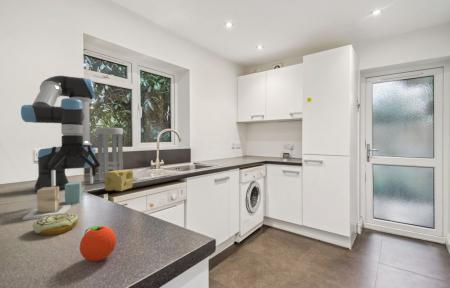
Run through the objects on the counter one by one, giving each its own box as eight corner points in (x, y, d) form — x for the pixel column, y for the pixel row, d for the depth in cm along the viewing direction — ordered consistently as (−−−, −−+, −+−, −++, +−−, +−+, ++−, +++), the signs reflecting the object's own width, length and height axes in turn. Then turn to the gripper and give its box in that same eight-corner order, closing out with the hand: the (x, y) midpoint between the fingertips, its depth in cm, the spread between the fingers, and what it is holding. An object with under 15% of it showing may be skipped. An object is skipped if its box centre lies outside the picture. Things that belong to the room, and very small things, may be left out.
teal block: (68, 201, 94) (67, 183, 94) (81, 199, 96) (81, 182, 96) (65, 204, 90) (64, 185, 90) (79, 202, 92) (79, 184, 92)
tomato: (68, 263, 46) (67, 229, 46) (98, 248, 52) (97, 218, 52) (95, 271, 43) (95, 235, 43) (123, 254, 49) (123, 222, 49)
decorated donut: (29, 241, 57) (29, 227, 56) (36, 228, 65) (35, 215, 65) (78, 231, 62) (77, 218, 62) (77, 220, 71) (77, 209, 71)
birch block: (42, 209, 80) (42, 187, 80) (59, 207, 82) (59, 186, 82) (37, 213, 76) (37, 190, 76) (55, 211, 78) (54, 189, 78)
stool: (127, 180, 146) (126, 128, 145) (102, 183, 134) (101, 127, 134) (117, 177, 156) (116, 129, 155) (93, 180, 144) (92, 128, 144)
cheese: (121, 191, 112) (121, 172, 112) (103, 190, 114) (103, 172, 114) (133, 187, 122) (133, 169, 122) (117, 186, 125) (116, 169, 124)
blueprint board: (35, 210, 82) (35, 208, 81) (70, 206, 86) (70, 204, 86) (22, 220, 71) (22, 217, 71) (63, 215, 76) (63, 212, 76)
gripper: (31, 134, 84) (32, 189, 84) (104, 134, 94) (105, 183, 94) (38, 135, 91) (39, 185, 91) (106, 135, 101) (107, 180, 101)
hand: (73, 184), depth 93 cm, fingers open, 13 cm apart
